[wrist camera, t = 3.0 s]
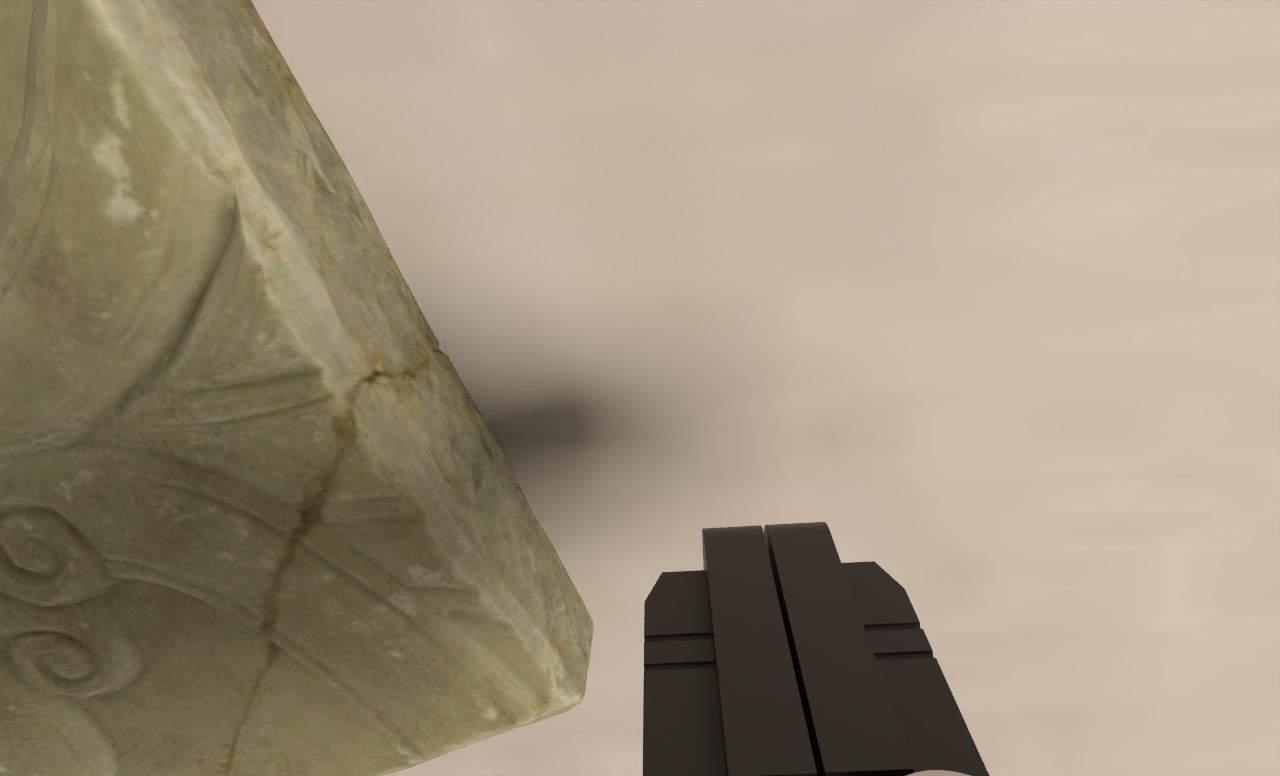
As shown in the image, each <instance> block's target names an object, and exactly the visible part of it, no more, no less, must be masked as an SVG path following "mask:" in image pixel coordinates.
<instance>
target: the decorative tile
mask: <svg viewBox="0 0 1280 776" xmlns="http://www.w3.org/2000/svg"><path fill="white" fill-rule="evenodd" d="M592 635H593V621H592V619H591V617H590V615H589V613H588V611H587V609H586V607H585V605H584V603H583V601H582V599H581V597H580V595H579V593H578V591H577V589H576V588H575V586H574V584H573V582H572V581H571V579H570V577H569V575H568V573H567V571H566V570H565V568H564V566H563V564H562V562H561V560H560V558H559V556H558V554H557V552H556V550H555V549H554V547H553V545H552V543H551V542H550V540H549V538H548V537H547V535H546V534H545V532H544V530H543V529H542V527H541V526H540V524H539V523H538V521H537V520H536V518H535V516H534V514H533V512H532V510H531V508H530V506H529V504H528V502H527V500H526V498H525V496H524V494H523V492H522V490H521V489H520V487H519V485H518V483H517V481H516V479H515V477H514V475H513V473H512V471H511V469H510V467H509V465H508V463H507V461H506V459H505V457H504V455H503V453H502V451H501V449H500V448H499V446H498V444H497V442H496V440H495V439H494V437H493V435H492V433H491V432H490V430H489V428H488V426H487V424H486V422H485V421H484V419H483V417H482V415H481V413H480V412H479V410H478V408H477V406H476V405H475V403H474V401H473V399H472V398H471V396H470V395H469V393H468V391H467V390H466V388H465V386H464V385H463V383H462V381H461V379H460V377H459V376H458V374H457V372H456V370H455V368H454V367H453V365H452V363H451V361H450V359H449V358H448V356H447V355H446V354H445V353H443V352H441V351H440V350H439V342H438V341H437V339H436V337H435V336H434V334H433V332H432V330H431V328H430V326H429V325H428V323H427V321H426V319H425V317H424V315H423V314H422V312H421V310H420V308H419V306H418V304H417V302H416V300H415V298H414V296H413V294H412V293H411V291H410V289H409V287H408V285H407V283H406V281H405V279H404V278H403V276H402V274H401V272H400V270H399V268H398V266H397V264H396V262H395V261H394V259H393V257H392V255H391V253H390V251H389V249H388V247H387V245H386V243H385V241H384V239H383V237H382V235H381V233H380V231H379V229H378V227H377V225H376V223H375V221H374V219H373V217H372V215H371V213H370V211H369V209H368V207H367V205H366V203H365V201H364V199H363V197H362V195H361V194H360V192H359V190H358V188H357V186H356V184H355V182H354V181H353V179H352V177H351V175H350V173H349V171H348V169H347V168H346V166H345V164H344V162H343V161H342V159H341V157H340V155H339V154H338V152H337V150H336V149H335V147H334V145H333V143H332V142H331V140H330V138H329V137H328V135H327V133H326V131H325V130H324V128H323V126H322V125H321V123H320V121H319V119H318V118H317V116H316V115H315V113H314V111H313V110H312V108H311V106H310V105H309V103H308V101H307V99H306V97H305V95H304V93H303V91H302V90H301V88H300V86H299V84H298V82H297V81H296V79H295V78H294V76H293V74H292V72H291V71H290V69H289V67H288V65H287V63H286V61H285V60H284V58H283V56H282V54H281V53H280V51H279V50H278V48H277V46H276V45H275V43H274V41H273V39H272V37H271V35H270V33H269V32H268V30H267V28H266V26H265V25H264V23H263V21H262V19H261V18H260V16H259V14H258V12H257V11H256V9H255V7H254V5H253V3H252V1H251V0H0V776H383V775H386V774H390V773H393V772H397V771H401V770H404V769H408V768H411V767H413V766H416V765H418V764H421V763H423V762H426V761H428V760H431V759H433V758H436V757H439V756H441V755H444V754H446V753H449V752H452V751H454V750H457V749H460V748H463V747H465V746H468V745H471V744H474V743H476V742H479V741H482V740H485V739H487V738H490V737H493V736H495V735H498V734H501V733H504V732H506V731H509V730H512V729H515V728H518V727H521V726H524V725H528V724H531V723H535V722H538V721H541V720H544V719H546V718H549V717H552V716H555V715H557V714H560V713H563V712H566V711H568V710H569V709H571V708H573V707H574V706H576V705H577V704H579V703H581V701H582V698H583V696H584V694H585V687H586V679H587V671H588V667H589V659H590V650H591V642H592Z"/></svg>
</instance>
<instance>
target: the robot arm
mask: <svg viewBox="0 0 1280 776" xmlns="http://www.w3.org/2000/svg"><path fill="white" fill-rule="evenodd" d="M702 538H703V561H704V570H702V571H682V572H662V574H661V575H660V577H659V579H658V580H657V582H656V584H655V585H654V587H653V589H652V590H651V592H650V594H649V595H648V597H647V599H646V600H645V617H644V639H645V642H644V715H643V776H989V774H988V772H987V770H986V768H985V765H984V763H983V761H982V759H981V757H980V754H979V752H978V750H977V748H976V746H975V743H974V741H973V739H972V737H971V735H970V732H969V730H968V728H967V726H966V723H965V721H964V719H963V717H962V715H961V712H960V710H959V708H958V706H957V704H956V701H955V699H954V697H953V695H952V692H951V690H950V688H949V686H948V684H947V681H946V679H945V677H944V675H943V673H942V670H941V668H940V666H939V664H938V662H937V659H936V658H934V657H933V650H932V648H931V646H930V644H929V642H928V639H927V637H926V635H925V633H924V631H923V629H921V628H920V622H919V620H918V617H917V615H916V613H915V611H914V608H913V606H912V604H911V602H910V600H909V597H908V595H907V593H906V591H905V589H904V588H903V587H902V586H901V585H900V584H899V583H898V582H896V581H895V580H894V579H893V578H892V577H891V576H890V575H889V574H888V573H886V572H885V571H884V570H883V569H882V568H881V567H880V566H879V565H878V564H876V563H875V562H855V563H841V561H840V558H839V556H838V553H837V550H836V547H835V544H834V542H833V539H832V536H831V533H830V530H829V528H828V525H827V524H826V523H825V522H815V523H796V524H777V525H765V528H764V533H763V529H762V527H761V526H744V527H725V528H706V529H702Z"/></svg>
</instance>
